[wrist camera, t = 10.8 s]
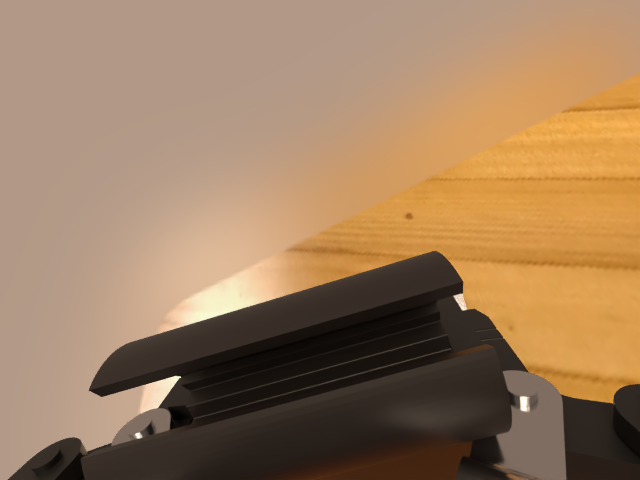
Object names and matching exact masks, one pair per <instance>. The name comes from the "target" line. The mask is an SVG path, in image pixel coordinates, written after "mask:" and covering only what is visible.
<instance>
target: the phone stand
mask: <svg viewBox="0 0 640 480" xmlns="http://www.w3.org/2000/svg"><path fill="white" fill-rule="evenodd" d="M462 293H463V281H462V279H461V277H460V276H459V274H458V273H457V271H456V270H455V269H454V267H453V266H452V265H451V263H450V262H449V261H448V260H447V259H446V258H445V257H444V256H443V255H442V254H441V253H439V252H437V251H432V252H429V253H426V254H422V255H419V256H416V257H412V258H409V259H406V260H402V261H399V262H396V263H393V264H389V265H386V266H383V267H379V268H376V269H373V270H369V271H366V272H363V273H359V274H356V275H353V276H349V277H346V278H343V279H339V280H336V281H333V282H329V283H326V284H323V285H319V286H316V287H313V288H310V289H306V290H303V291H300V292H296V293H293V294H290V295H286V296H283V297H280V298H276V299H273V300H270V301H266V302H263V303H260V304H256V305H253V306H250V307H246V308H243V309H240V310H236V311H233V312H230V313H227V314H223V315H220V316H217V317H213V318H210V319H207V320H203V321H200V322H197V323H193V324H190V325H187V326H183V327H180V328H177V329H173V330H170V331H167V332H163V333H160V334H157V335H153V336H150V337H147V338H144V339H140V340H137V341H134V342H130V343H128V344H125V345H124V346H122V347H120V348H119V349H117V350H116V351H115V352H114V353H112V354H111V355H110V356H109V357H108V358H107V360H106V361H105V362H104V363H103V365H102V366H101V367H100V369H99V371H98V372H97V374H96V376H95V378H94V380H93V382H92V384H91V386H90V388H89V391H91V392H93V393H95V394H97V395H99V396H101V397H103V396H107V395H110V394H114V393H117V392H121V391H124V390H128V389H131V388H135V387H138V386H142V385H145V384H149V383H152V382H156V381H159V380H162V379H166V378H169V377H173V376H181V386H183V387H184V388H186V389H188V390H189V391H190V394H189V398H188V402H187V405H186V408H187V409H188V411H189V412H190V414H191V415H192V417H193V418H194V420H193V422H192V423H191V424H190V425H187V426H183V427H179V428H176V429H172V430H168V431H165V432H161V433H157V434H154V435H150V436H146V437H143V438H139V439H135V440H131V441H128V442H124V443H120V444H117V445H113V446H109V447H106V448H102V449H98V450H96V451H94V452H92V453H90V454H88V455H87V456H85V457H83V458H81V465H82V470H83V474H84V478H85V480H455V479H456V475H457V471H458V467H459V463H460V461H461V458H462V457H463V456H467V457H469V456H470V453H471V448H472V444H473V441H474V440H478V439H482V438H486V437H490V436H494V435H499V434H503V433H507V432H509V431H510V429H511V426H512V409H511V403H510V397H509V393H508V389H507V385H506V381H505V377H504V374H503V371H502V368H501V364H500V361H499V359H498V356H497V353H496V350H495V347H493V346H490V345H488V344H485V345H481V346H477V347H474V348H470V349H466V350H463V351H459V352H455V353H454V352H453V351H452V350H451V347H450V342H449V338H448V334H447V332H446V330H445V328H444V326H443V325H442V323H441V321H440V310H439V308H438V306H437V300H441V299H444V298H448V297H451V296H455V295H458V294H462Z"/></svg>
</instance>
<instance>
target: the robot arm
mask: <svg viewBox="0 0 640 480" xmlns="http://www.w3.org/2000/svg"><path fill="white" fill-rule="evenodd" d="M437 306H438V308H439V310H440V321H441V323H442V325H443V326H444V328H445V330H446V332H447V334H448V338H449V342H450V347H451V350H452V351H453V352H454V353H455V352H459V351H463V350H466V349H470V348H474V347H477V346H481V345H485V344H488V345H490V346H493V347H495V350H496V353H497V356H498V359H499V361H500V364H501V368H502V371H503V374H504V377H505V381H506V385H507V389H508V393H509V397H510V403H511V409H512V426H511V429H510V431H509V432H507V433H503V434H499V435H494V436H490V437H486V438H482V439H478V440H474V441H473V444H472V448H471V453H470V456H469V457H467V456H463V457H462V458H461V461H460V463H459V467H458V471H457V475H456V479H455V480H640V384H635V385H628V386H625V387H622V388H620V389H619V390H618V391H617V392H616V393H615V395H614V402H613V404H612V403H605V402H597V401H590V400H582V399H576V398H571V397H568V396H564V395H561V394H560V393H559V391H558V390H557V389H556V388H555V387H554V386H553V385H552V384H551V383H550V382H548V381H547V380H545V379H544V378H542V377H540V376H537V375H535V374H532V373H529V372H528V370H527V369H526V368H525V366H524V365H523V364H522V362H521V361H520V360H519V358H518V357H517V355H516V354H515V353H514V351H513V350H512V349H511V347H510V346H509V344H508V343H507V342H506V340H505V339H503V336H502V335H501V334H500V332H499V331H498V330H497V329H496V327H495V325H494V324H493V323H492V321H491V320H490V319H489V317H488V316H486V315H484V314H482V313H481V312H479V311H477V310H476V309H470V310H463V311H462V309H461V308H460V306H459V304H458V303H457V301H456V299H455V298H454V296H451V297H448V298H444V299H441V300H437ZM189 394H190V391H189V390H188V389H186V388H184V387H183V386H181V378H179V380H178V381H177V382H176V384H175V385H174V387H173V388H172V389H171V391H170V392H169V394H168V395H167V396H166V398H165V399H164V401H163V402H162V403H161V405H160V406H159V408H158V409H152V410H149V411H146V412H144V413H142V414H140V415H138V416H136V417H135V418H134V419H132V420H131V421H129V422H128V423H127V424H126V425H124V426H123V427H122V428H121V429H120V431H119V432H118V433H117V434H116V436H115V438H114V439H113V441H112V443H110V444H108V445H104V446H102V447H99V448H96V449H94V450H91V451H88V452H87V451H86V449H85V447H84V446H83V444H82V442H81V440H80V439H78V438H67V439H63V440H61V441H58V442H56V443H54V444H52V445H50V446H48V447H47V448H45V449H43V450H42V451H40V452H39V453H37V454H36V455H35V456H34V457H32V458H31V459H30V460H29V461H28V462H27V463H26V464H24V465H23V466H22V467H21V468H20V469H19V470H18V471H17V472H16V473H15V474H13V476H11V477H10V478H9V479H8V480H85V478H84V474H83V470H82V465H81V458H83V457H85V456H87V455H88V454H90V453H92V452H94V451H96V450H98V449H102V448H106V447H109V446H113V445H117V444H120V443H124V442H128V441H131V440H135V439H139V438H143V437H146V436H150V435H154V434H157V433H161V432H165V431H168V430H172V429H176V428H179V427H183V426H187V425H190V424H191V423H192V422H193V420H194V418H193V417H192V415H191V414H190V412H189V411H188V409H187V408H186V405H187V402H188V398H189Z"/></svg>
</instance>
